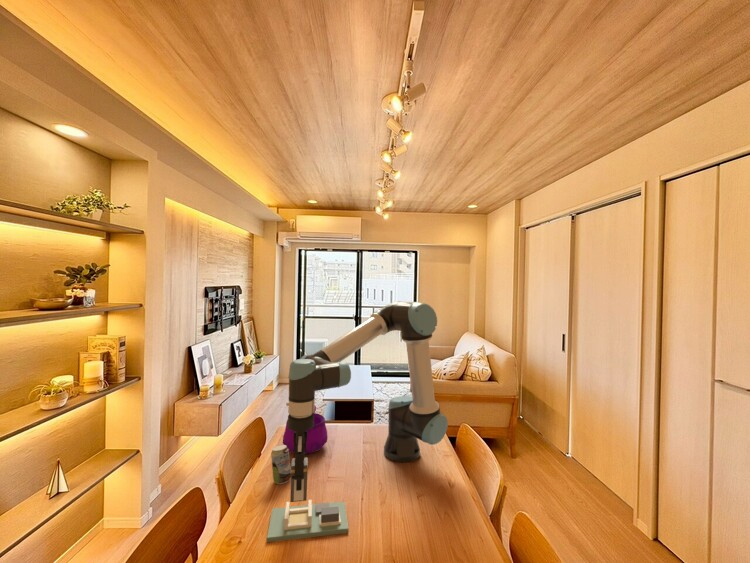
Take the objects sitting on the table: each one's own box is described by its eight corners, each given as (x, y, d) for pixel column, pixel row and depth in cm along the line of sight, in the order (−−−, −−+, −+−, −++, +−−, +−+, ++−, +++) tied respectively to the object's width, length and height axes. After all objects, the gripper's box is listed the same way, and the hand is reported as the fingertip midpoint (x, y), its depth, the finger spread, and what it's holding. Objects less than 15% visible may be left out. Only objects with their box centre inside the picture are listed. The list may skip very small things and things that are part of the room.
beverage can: (286, 487, 113) (287, 452, 113) (266, 484, 114) (267, 450, 114) (294, 477, 119) (295, 444, 119) (275, 475, 120) (276, 441, 121)
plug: (306, 491, 99) (307, 457, 99) (306, 500, 94) (307, 465, 94) (291, 492, 98) (292, 458, 98) (290, 502, 93) (291, 466, 93)
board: (344, 505, 104) (344, 491, 104) (348, 532, 92) (348, 517, 92) (272, 512, 100) (272, 498, 100) (266, 542, 88) (267, 526, 88)
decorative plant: (336, 449, 140) (337, 378, 141) (298, 465, 127) (300, 387, 128) (310, 435, 154) (312, 370, 155) (274, 448, 141) (276, 377, 141)
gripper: (290, 403, 104) (287, 478, 104) (285, 426, 87) (283, 515, 87) (314, 402, 106) (312, 476, 105) (314, 424, 89) (311, 512, 88)
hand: (298, 494), depth 96 cm, fingers closed on plug, 4 cm apart
